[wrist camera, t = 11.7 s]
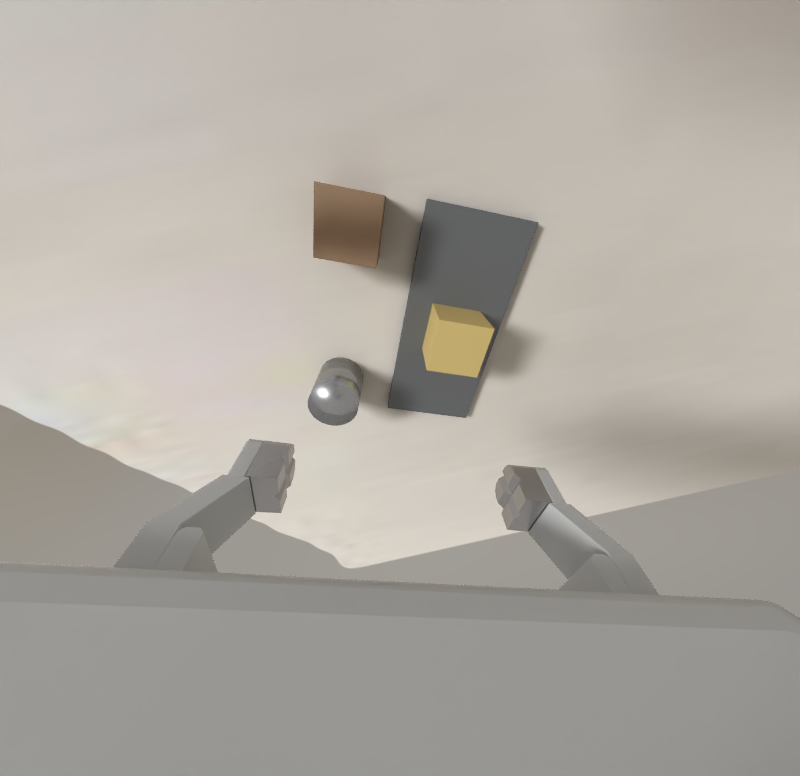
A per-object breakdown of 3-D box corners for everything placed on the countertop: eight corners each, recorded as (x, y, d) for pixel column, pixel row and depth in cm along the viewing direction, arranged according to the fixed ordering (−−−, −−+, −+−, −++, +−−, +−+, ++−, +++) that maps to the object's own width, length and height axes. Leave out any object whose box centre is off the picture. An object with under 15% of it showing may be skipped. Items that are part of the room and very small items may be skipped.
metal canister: (321, 354, 33) (308, 381, 28) (365, 361, 34) (360, 388, 29) (319, 391, 36) (307, 422, 31) (360, 396, 36) (355, 428, 31)
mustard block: (432, 303, 29) (439, 319, 25) (480, 311, 30) (494, 329, 26) (422, 348, 32) (426, 370, 28) (465, 355, 33) (476, 377, 28)
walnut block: (327, 185, 25) (314, 181, 21) (385, 197, 25) (384, 195, 21) (325, 249, 27) (313, 257, 23) (378, 258, 28) (376, 268, 24)
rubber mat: (426, 199, 25) (427, 198, 25) (534, 222, 26) (538, 222, 26) (388, 403, 37) (387, 407, 36) (464, 413, 38) (465, 417, 37)
